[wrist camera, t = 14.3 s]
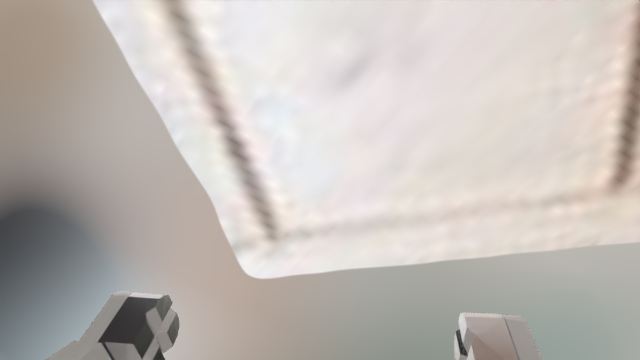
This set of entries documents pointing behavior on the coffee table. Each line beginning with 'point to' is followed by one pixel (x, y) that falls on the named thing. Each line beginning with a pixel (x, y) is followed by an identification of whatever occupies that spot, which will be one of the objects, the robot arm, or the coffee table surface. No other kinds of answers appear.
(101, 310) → the robot arm
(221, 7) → the coffee table surface
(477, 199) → the coffee table surface
